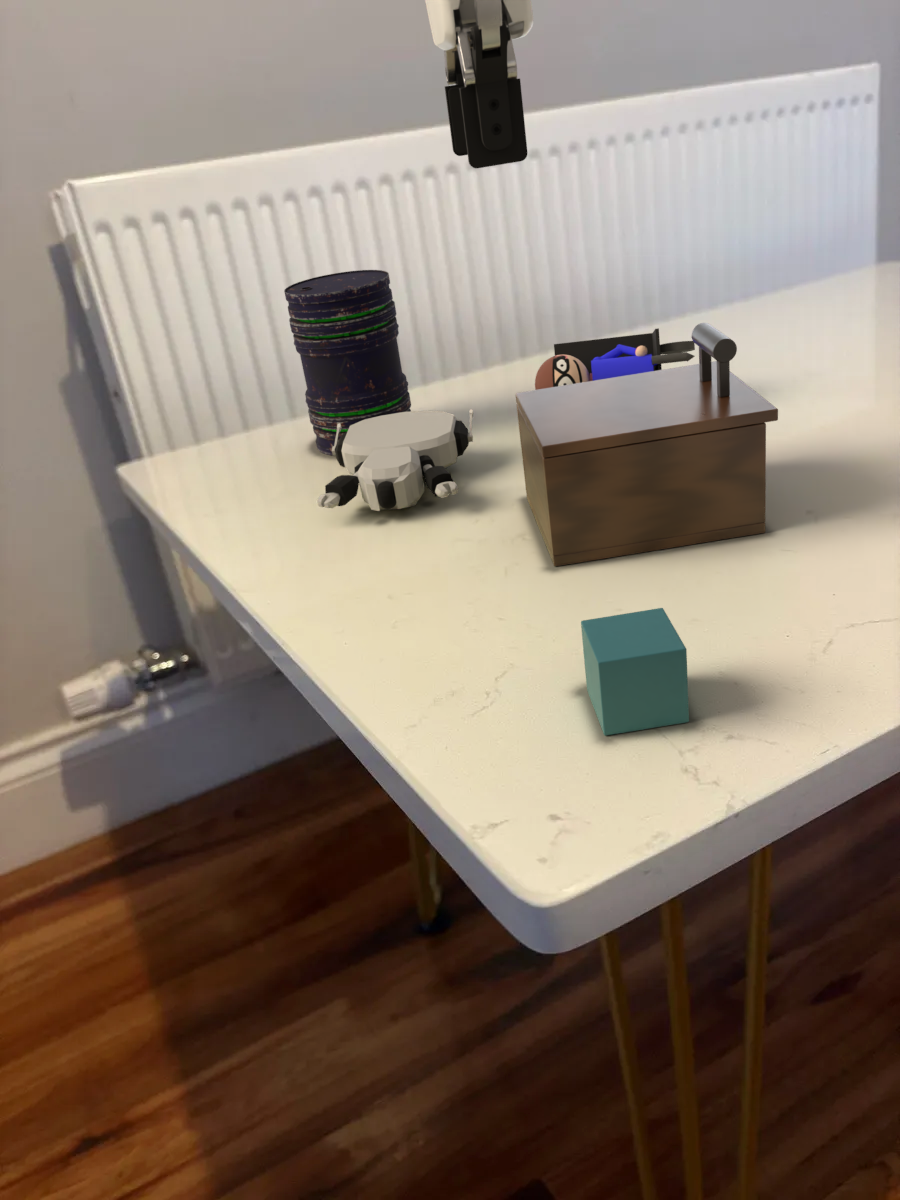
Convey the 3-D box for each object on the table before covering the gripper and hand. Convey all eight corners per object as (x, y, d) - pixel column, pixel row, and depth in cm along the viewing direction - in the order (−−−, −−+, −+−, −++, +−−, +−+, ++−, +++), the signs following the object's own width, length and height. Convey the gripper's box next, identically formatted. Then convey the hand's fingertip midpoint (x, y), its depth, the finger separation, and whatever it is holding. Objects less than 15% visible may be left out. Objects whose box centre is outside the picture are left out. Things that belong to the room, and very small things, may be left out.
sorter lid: (717, 371, 77) (716, 306, 75) (778, 420, 66) (779, 347, 64) (516, 403, 77) (509, 339, 75) (543, 458, 66) (536, 385, 64)
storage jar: (400, 414, 105) (376, 264, 98) (428, 440, 97) (403, 278, 90) (306, 436, 103) (274, 285, 96) (326, 464, 95) (292, 301, 88)
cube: (666, 677, 56) (662, 607, 54) (689, 722, 52) (686, 648, 50) (586, 690, 56) (580, 620, 54) (604, 736, 52) (597, 662, 50)
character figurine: (706, 421, 92) (539, 438, 94) (697, 391, 98) (541, 407, 100) (703, 336, 88) (529, 356, 90) (695, 310, 94) (532, 329, 96)
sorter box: (709, 469, 81) (706, 373, 77) (765, 532, 70) (766, 423, 66) (526, 499, 81) (516, 403, 77) (554, 567, 70) (543, 459, 66)
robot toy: (468, 525, 80) (479, 446, 92) (460, 473, 77) (472, 399, 90) (316, 539, 82) (347, 459, 94) (303, 488, 79) (337, 413, 92)
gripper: (546, -262, 45) (579, 158, 53) (497, -176, 60) (528, 139, 68) (377, -235, 45) (435, 181, 53) (371, -156, 60) (417, 157, 68)
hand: (488, 157), depth 60 cm, fingers open, 9 cm apart
